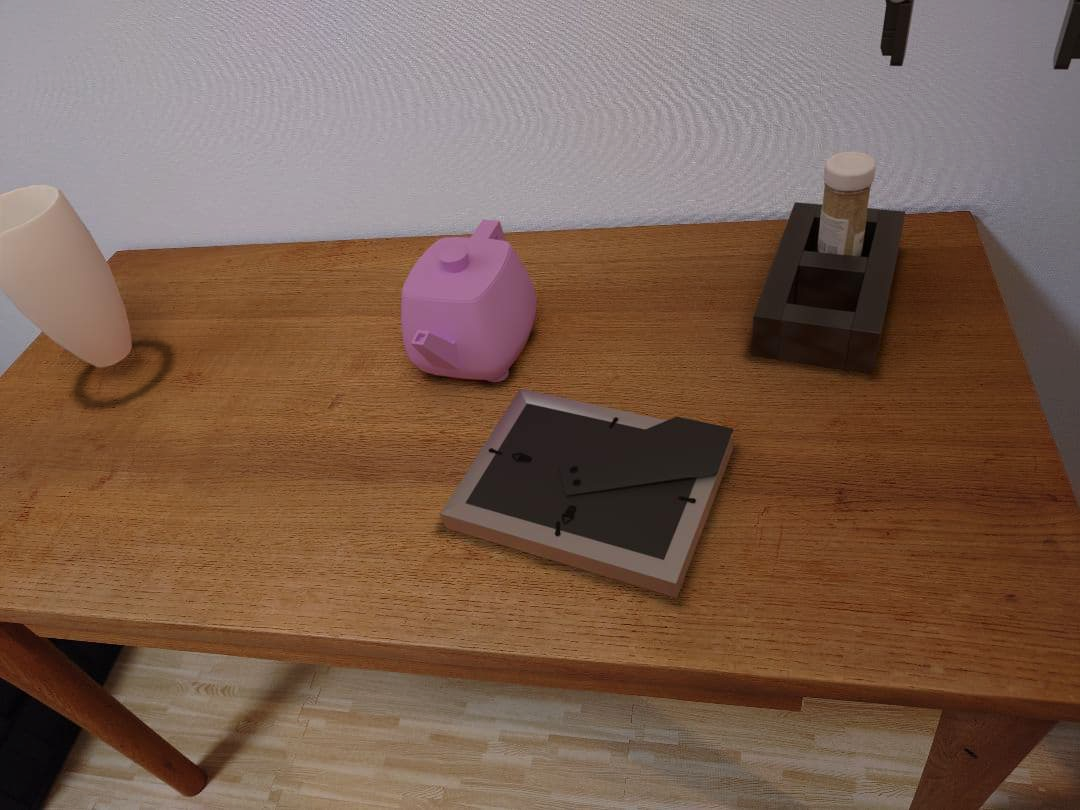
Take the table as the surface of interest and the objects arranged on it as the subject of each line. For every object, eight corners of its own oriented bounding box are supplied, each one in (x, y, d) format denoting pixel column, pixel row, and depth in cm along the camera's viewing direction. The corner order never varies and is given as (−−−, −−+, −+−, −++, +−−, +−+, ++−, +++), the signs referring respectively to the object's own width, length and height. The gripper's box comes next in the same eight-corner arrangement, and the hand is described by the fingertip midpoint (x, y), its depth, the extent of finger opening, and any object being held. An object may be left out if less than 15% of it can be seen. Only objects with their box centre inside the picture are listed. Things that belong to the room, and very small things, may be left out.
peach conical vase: (60, 393, 91) (-69, 233, 76) (127, 336, 98) (20, 177, 83) (122, 413, 87) (-2, 247, 72) (188, 351, 93) (86, 187, 78)
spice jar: (867, 282, 84) (886, 165, 74) (827, 294, 83) (841, 178, 74) (843, 259, 87) (859, 144, 77) (805, 271, 86) (816, 157, 77)
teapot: (461, 290, 94) (434, 194, 85) (562, 298, 90) (545, 199, 81) (386, 411, 81) (346, 313, 72) (500, 428, 77) (472, 326, 68)
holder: (898, 251, 86) (905, 211, 83) (873, 374, 74) (880, 333, 71) (791, 240, 91) (794, 202, 87) (751, 355, 79) (753, 316, 75)
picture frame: (732, 450, 71) (523, 403, 79) (733, 428, 69) (518, 382, 77) (677, 598, 61) (445, 528, 69) (675, 578, 59) (437, 508, 67)
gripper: (876, -265, 36) (838, 88, 47) (1275, -317, 31) (1124, 96, 42) (896, -292, 41) (857, 35, 52) (1246, -341, 35) (1117, 36, 46)
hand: (976, 62), depth 47 cm, fingers open, 8 cm apart
